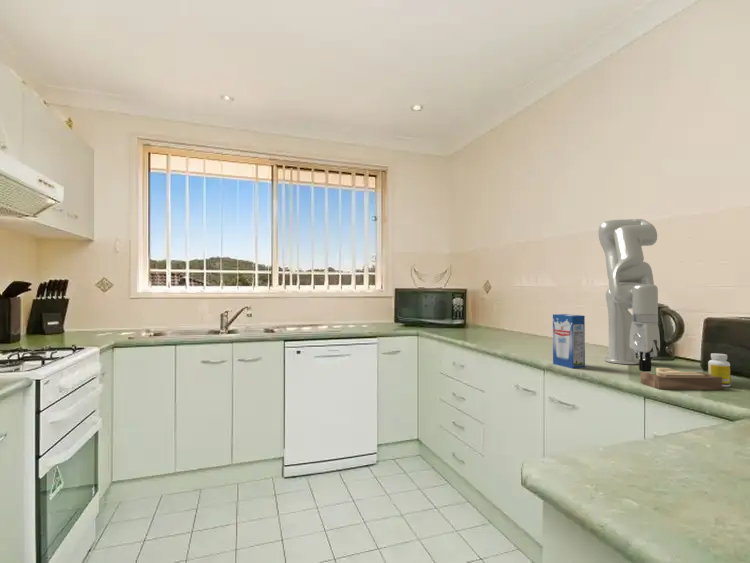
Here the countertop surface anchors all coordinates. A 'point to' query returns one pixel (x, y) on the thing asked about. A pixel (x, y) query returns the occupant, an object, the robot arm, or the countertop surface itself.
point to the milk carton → (569, 340)
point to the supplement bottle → (720, 368)
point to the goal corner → (682, 381)
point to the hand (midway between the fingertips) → (645, 370)
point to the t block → (676, 373)
